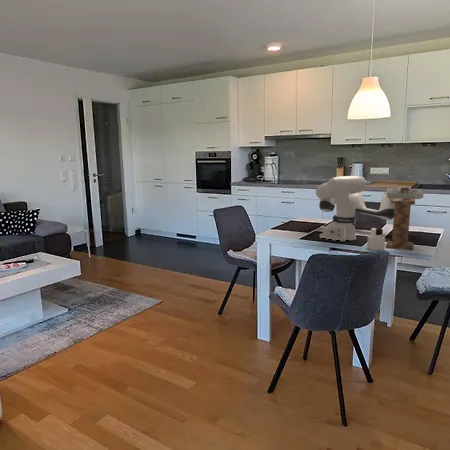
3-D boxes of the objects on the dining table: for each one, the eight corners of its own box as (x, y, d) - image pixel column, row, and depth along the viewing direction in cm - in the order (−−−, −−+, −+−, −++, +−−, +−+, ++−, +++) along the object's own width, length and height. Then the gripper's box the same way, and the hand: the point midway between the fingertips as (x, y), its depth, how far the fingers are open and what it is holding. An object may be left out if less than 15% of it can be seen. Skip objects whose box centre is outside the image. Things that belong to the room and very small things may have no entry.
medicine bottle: (379, 247, 220) (380, 226, 218) (384, 250, 213) (386, 229, 211) (366, 247, 220) (368, 227, 217) (371, 250, 213) (373, 229, 210)
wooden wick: (400, 192, 216) (400, 187, 215) (401, 189, 230) (401, 184, 229) (408, 193, 214) (408, 187, 214) (408, 190, 228) (409, 185, 228)
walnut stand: (385, 247, 219) (388, 200, 213) (387, 242, 229) (390, 197, 224) (413, 250, 213) (417, 201, 207) (413, 245, 223) (416, 198, 218)
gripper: (422, 202, 232) (424, 193, 220) (386, 201, 241) (385, 192, 229) (423, 193, 234) (425, 183, 222) (387, 191, 243) (386, 182, 231)
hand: (404, 188), depth 226 cm, fingers closed on wooden wick, 2 cm apart
